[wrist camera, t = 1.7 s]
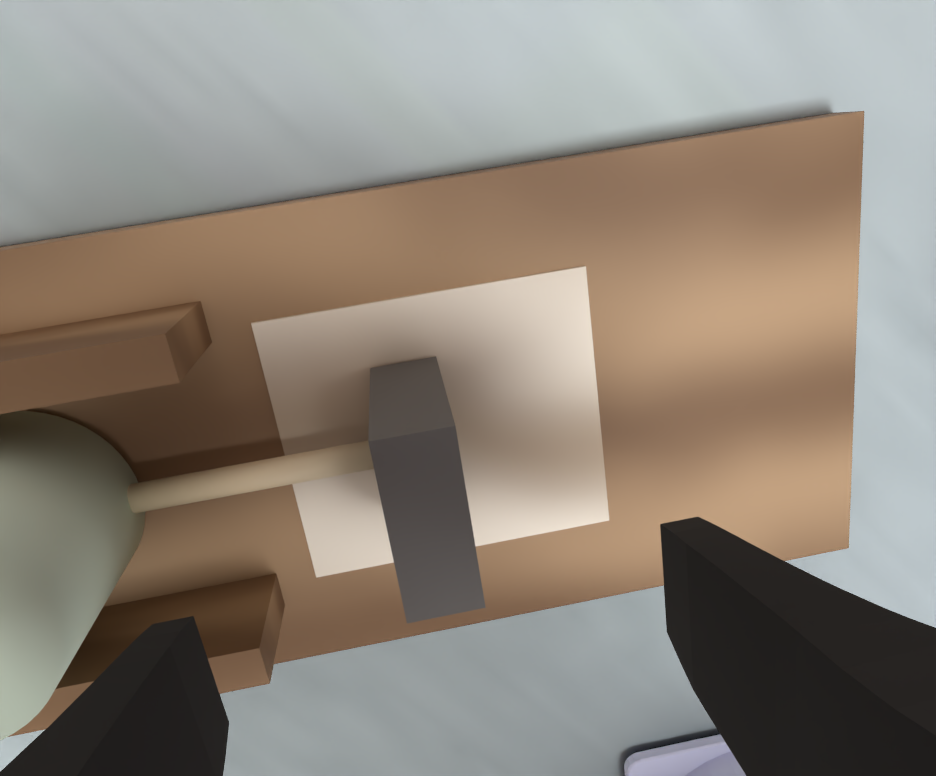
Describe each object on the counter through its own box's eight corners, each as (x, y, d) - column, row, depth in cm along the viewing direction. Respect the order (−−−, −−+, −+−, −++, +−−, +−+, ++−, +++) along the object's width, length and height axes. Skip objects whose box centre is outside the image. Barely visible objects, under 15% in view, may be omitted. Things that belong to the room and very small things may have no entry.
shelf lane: (824, 527, 22) (921, 610, 18) (-12, 694, 21) (-103, 825, 17) (834, 112, 18) (960, 105, 14) (-205, 280, 17) (-387, 324, 13)
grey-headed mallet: (463, 519, 19) (492, 644, 14) (-32, 614, 18) (-174, 780, 13) (432, 336, 17) (454, 410, 13) (-116, 432, 16) (-311, 549, 12)
